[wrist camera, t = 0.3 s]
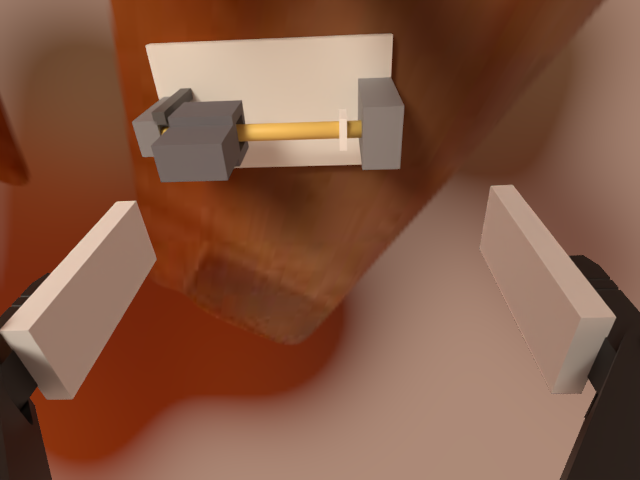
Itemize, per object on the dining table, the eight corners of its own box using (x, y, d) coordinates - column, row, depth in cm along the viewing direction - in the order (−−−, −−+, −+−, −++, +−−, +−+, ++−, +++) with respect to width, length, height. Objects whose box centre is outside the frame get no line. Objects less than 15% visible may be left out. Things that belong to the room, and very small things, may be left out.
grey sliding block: (184, 102, 35) (147, 136, 29) (241, 100, 35) (219, 133, 28) (194, 148, 38) (163, 190, 31) (248, 147, 38) (229, 188, 31)
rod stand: (149, 43, 38) (97, 67, 30) (391, 33, 37) (407, 54, 29) (179, 165, 45) (144, 212, 36) (385, 159, 43) (397, 207, 35)
